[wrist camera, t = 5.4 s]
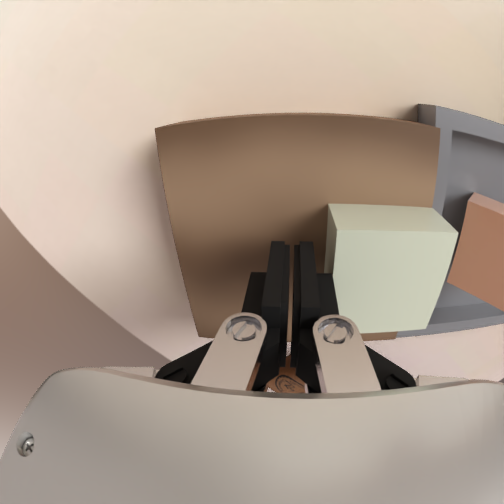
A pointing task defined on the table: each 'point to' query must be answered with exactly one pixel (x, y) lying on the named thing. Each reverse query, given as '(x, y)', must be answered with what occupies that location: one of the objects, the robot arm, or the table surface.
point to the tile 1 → (481, 251)
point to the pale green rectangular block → (387, 263)
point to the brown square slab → (279, 192)
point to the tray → (463, 204)
